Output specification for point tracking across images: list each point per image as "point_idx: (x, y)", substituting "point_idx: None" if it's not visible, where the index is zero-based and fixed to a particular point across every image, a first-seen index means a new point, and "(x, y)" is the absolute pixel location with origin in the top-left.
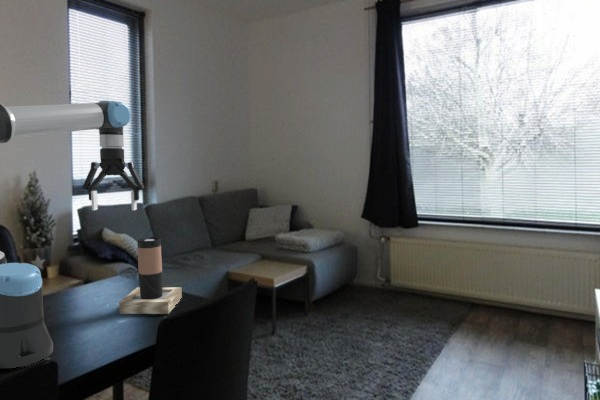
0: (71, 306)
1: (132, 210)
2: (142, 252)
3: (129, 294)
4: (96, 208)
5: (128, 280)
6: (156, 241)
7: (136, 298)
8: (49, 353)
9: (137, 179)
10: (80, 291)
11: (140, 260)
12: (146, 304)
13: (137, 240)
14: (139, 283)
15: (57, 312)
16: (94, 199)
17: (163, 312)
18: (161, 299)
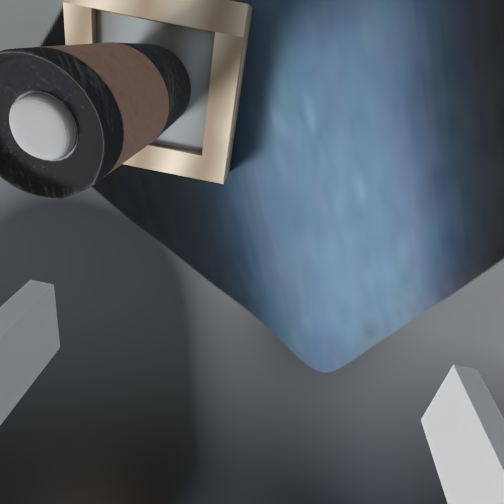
0: (429, 122)
1: (45, 283)
2: (87, 54)
3: (230, 98)
4: (434, 413)
5: (292, 341)
6: None
7: (202, 71)
8: None
9: None
10: (418, 270)
11: (123, 62)
12: None
13: (100, 114)
14: (176, 80)
15: (470, 63)
16: (494, 495)
17: None
18: (96, 8)
